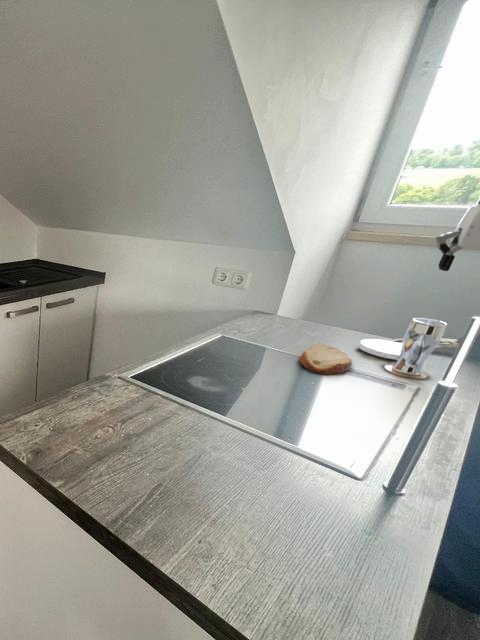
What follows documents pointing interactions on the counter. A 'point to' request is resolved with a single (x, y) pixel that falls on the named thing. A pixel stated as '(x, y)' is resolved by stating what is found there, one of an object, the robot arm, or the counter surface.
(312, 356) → the bread slice
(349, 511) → the counter surface
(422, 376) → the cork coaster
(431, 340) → the beer glass
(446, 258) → the robot arm
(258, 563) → the counter surface
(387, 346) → the plastic lid
